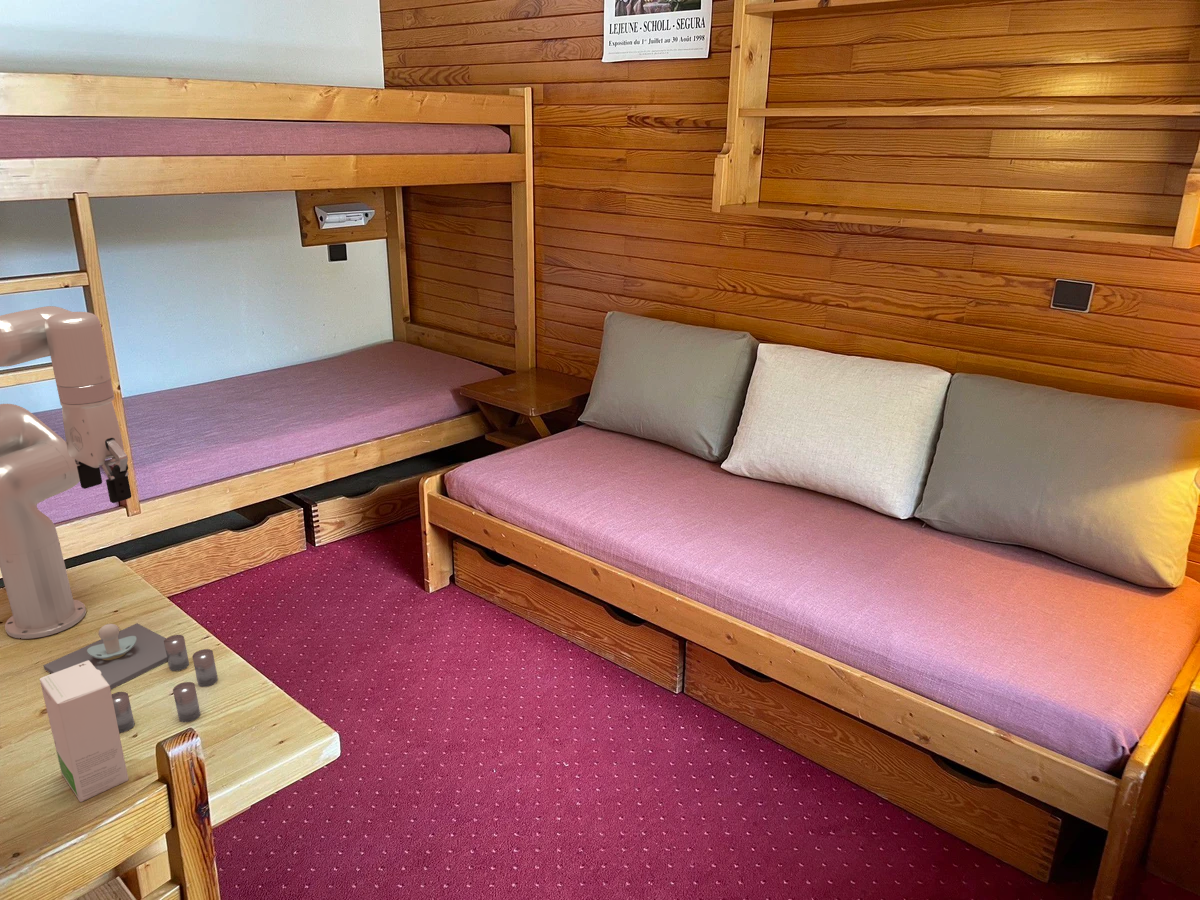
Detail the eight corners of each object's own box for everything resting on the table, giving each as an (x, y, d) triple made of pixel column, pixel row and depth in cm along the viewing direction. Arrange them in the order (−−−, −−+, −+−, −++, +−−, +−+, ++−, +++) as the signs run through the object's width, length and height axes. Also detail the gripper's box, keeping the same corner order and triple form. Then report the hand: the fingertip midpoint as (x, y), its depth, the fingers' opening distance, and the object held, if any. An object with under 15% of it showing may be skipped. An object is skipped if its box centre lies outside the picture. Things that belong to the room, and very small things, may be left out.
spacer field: (80, 710, 139) (73, 682, 137) (182, 659, 152) (177, 632, 150) (141, 750, 130) (134, 720, 128) (244, 691, 143) (239, 664, 141)
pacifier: (88, 653, 153) (91, 668, 148) (80, 620, 151) (82, 634, 146) (135, 640, 157) (140, 654, 152) (128, 607, 155) (133, 621, 150)
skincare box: (61, 774, 125) (35, 677, 120) (112, 752, 129) (89, 657, 124) (80, 804, 119) (54, 703, 114) (133, 780, 124) (110, 681, 118)
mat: (44, 669, 150) (43, 665, 150) (137, 627, 162) (136, 623, 162) (91, 699, 142) (90, 694, 141) (186, 652, 154) (185, 648, 154)
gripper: (36, 388, 145) (58, 487, 151) (87, 408, 135) (108, 513, 141) (84, 378, 150) (104, 474, 156) (137, 396, 141) (156, 498, 146)
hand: (106, 493), depth 149 cm, fingers open, 9 cm apart
